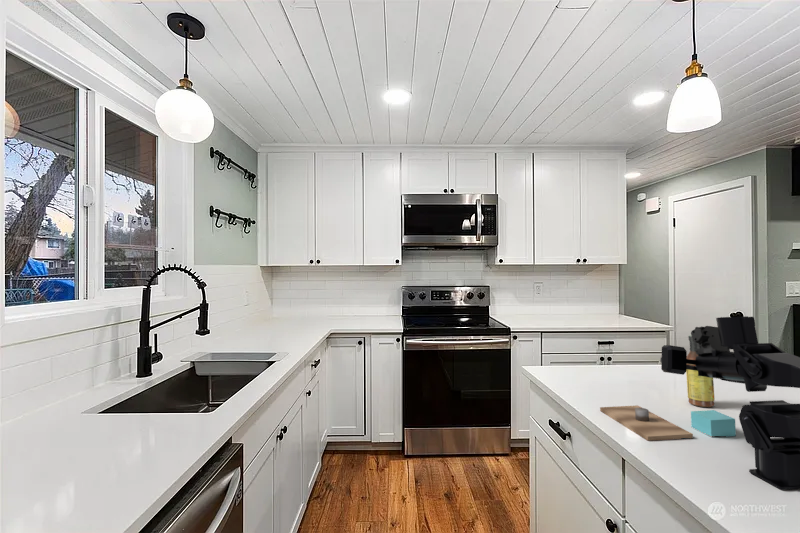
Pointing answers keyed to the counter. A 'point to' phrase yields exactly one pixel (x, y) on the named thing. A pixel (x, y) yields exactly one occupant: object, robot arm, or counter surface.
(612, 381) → the counter surface
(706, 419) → the teal block
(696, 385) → the sauce bottle
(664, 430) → the post base
